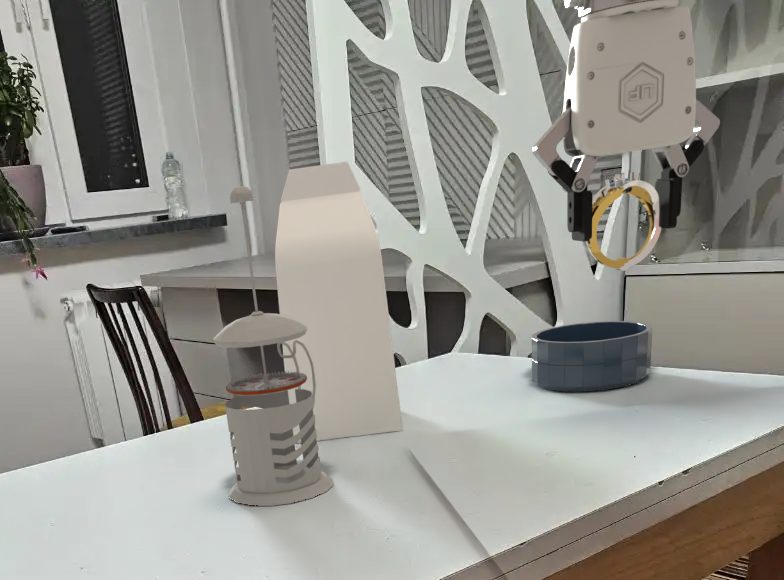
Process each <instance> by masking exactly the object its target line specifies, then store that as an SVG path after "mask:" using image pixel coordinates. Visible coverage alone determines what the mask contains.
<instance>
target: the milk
mask: <svg viewBox="0 0 784 580" xmlns="http://www.w3.org/2000/svg"><path fill="white" fill-rule="evenodd" d="M277 218H278V219H277V228H276V235H275V245H274V247H275V248H274V257H275V258H274V263H275V276H276V277H275V278H276V289H277V298H278V300H277V301H278V311H279V314H280V315H283V316H287V317H291V318H293V319H294V320H296V321H298V322H300V323H301V324H303V325H305V326H306V327H307V331H306V333H305V335H303V336H301V337H299V338H296V339H293V340H289V341H286V342H285V343H287V344H288V345H289V346H290V348H291V350H292V351H293V342H294V341H295V340H298V341H299V342H301V343H303V344H304V345H305V347H306V348H307V350H308V352H309V355H310V357H311V360H312V362H313V366H314V374H315V381H316V391H315V404H314V408H313V415H315V429H316V431H317V438H316V441H317V442H320V441H327V440H334V439H342V438H351V437H359V436H367V435H377V434H384V433H391V432H401V431H404V427H403V421H402V420H403V419H402V412H401V405H400V395H399V386H398V379H397V370H396V363H395V362H396V361H395V355H394V347H393V346H394V345H393V339H392V331H391V329H392V328H391V322H390V314H389V313H390V312H389V306H388V297H387V290H386V281H385V272H384V266H383V256H382V250H381V245H380V240H379V235H378V233H377V230H376V226H375V224H374V221H373V218H372V216H371V213H370V210H369V208H368V205H367V202H366V200H365V197H364V194H363V192H362V191H361V187H360V185H359V183H358V181H357V179H356V177H355V174H354V172H353V170H352V168H351V166H350V164H349V162H348V161H342V162H334V163H327V164H319V165H312V166H306V167H297V168H292V169H290V168H289V169H288V172H287V175H286V179H285V183H284V186H283V190H282V194H281V198H280V203H279V209H278V217H277ZM281 345H282V355H291V353H290V351H289V350H288V348H287V347H286V346H285V345H283V344H281ZM295 357H296V360H297V363H298V367H299V372H300V373H304V374H305V375H306V376H307V380H306V382H305V383H303V384H302V385H301V389H305V390H308V391H311V392H312V395H313V380H312V369H311V365H310V361H309V359H308V356H307V354H306V352H305V350H304V348H303V347H302V346H301V345H299V344H298V343H296V354H295ZM283 366H284V372H285V371H286V372H287V373H288V371H289V373H290V372H291V371H292V372H296V366H295V363H294V360H293V357H292V358H283ZM295 389H298V387H297V388H293V389H290V390H288V396H289V404H294V403H296V395H295ZM299 431H300V428H299V425H298V426H296V427H294V428H293V436H294V435H296V434H298V433H299ZM296 444H301V439H300V440H299V441H298V442H297V443H296Z"/></svg>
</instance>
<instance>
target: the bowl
mask: <svg viewBox="0 0 784 580" xmlns="http://www.w3.org/2000/svg"><path fill="white" fill-rule="evenodd" d="M652 342H653V326H652V325H651V324H648V323H645V322H640V321H632V320H631V321H627V320H604V321H601V320H600V321H589V322H579V323H571V324H564V325H559V326H554V327H549V328H545V329H543V330H538V331H536V332H535V333H533V334H532V335H531V381H532V382H534V383H535V384H537V386H538V387H540V388H541V389H545V390H550V391H554V392H565V393H567V392H569V393H570V392H571V393H575V392H577V393H578V392H579V393H580V392H581V393H583V392H597V391H607V390H614V389H613V388H615V389H619V387H620V388H624V387H627V386H626V385H628V386H630V385H629V384H632V385H634V384H633V383H635V382H637V383H639V382H641V381H642V380H643V379H644V378H645V377H646V376H648V375H649V374H650V373H651V367H652V366H651V365H652V364H651V363H652V344H653V343H652ZM643 377H644V378H643ZM641 379H642V380H641ZM640 380H641V381H640ZM638 381H639V382H638ZM635 384H636V383H635ZM623 386H624V387H623Z"/></svg>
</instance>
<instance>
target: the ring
mask: <svg viewBox="0 0 784 580" xmlns="http://www.w3.org/2000/svg"><path fill="white" fill-rule="evenodd" d="M640 175H641V173H640V172H636V173H635V171H631V172H630V173H629V177H628V178H626V177H625V176H626V175H625V172H619V173H616V174H613V176H612V182H610V179H605V180H604V184H605V186H603V187H602V188H600V190H598V191H597V193H595V195H594V197H593V198H592V238H591V239H590V240H589V241H585V244H586V246H587V250H588V252H589V254H590V255H591V257H592V258H593V259H594V260H595V261H596V262H597V263H598V264H600V265H602V266H604V267H607V268H611V269H615V270H617V271H623V272H625V271H627V270H629V268H630V267H632V266H635V265H637V264H639V263H640V262H642V261H643V260H644V259H645V258H646V257H648V255H649V254H650V253H651V252H652V250H653V249H654V247H655V245H656V244H657V242H658V241H659V237H660V234H661V233H662V232H661V231H662V229H663V228H662V218H663V214H662V207H661V202H660V199H659V196H658V194H657V192H656V190H655V186H653V185H652V184H651V183H649V182H647V181H644V180H641V179H640ZM624 194H628V195H630V196H632V197H634V198H636V200H638V201H639V202H640V203H641V204H642V205H643V206H644V208H645V209H646V212H647V214H648V220H649V228H648V234H647V237H646V240H645V242H644V244H643V245H642V247H641V248H640V249H639V250H638V251H637V252H636V253H635V254H633V255H632V256H630V257H618V258H616V260H613V259H611V258H609V257H607V256H606V255H605V254H604V253H603V252H602V251H601V249H600V247H599V244H598V237H597V235H598V234H597V231H598V227H599V226H598V225H599V223H600V220H601V218H602V216H603V215H604V213H605V211H606V210H607V209H608V208H609V206H611V204H612V203H614V202H615V201H616V200H617V199H619V198H620V197H622V196H623V195H624Z"/></svg>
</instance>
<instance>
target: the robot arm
mask: <svg viewBox="0 0 784 580" xmlns="http://www.w3.org/2000/svg"><path fill="white" fill-rule="evenodd" d="M563 1H564V2H563V3H564V7H565V8H566V9H569V8H574V10H576V9H577V11H578V18H580V22H579V23H577V24H575V25H574V26H573V30H572V35H571V40H570V45H569V51H568V58H567V65H566V66H567V67H566V74H565V84H564V94H563V95H564V96H563V97H564V98H563V108H562V109H563V112H562V113H561V115H559V117H558V118H557V119H556V120H555V121H554V122H553V123H552V124H551V126H550V127H549V128H548V129H546V131H545V132H544V133H543V135H542V136H540V138H539V139H538V140H537V141H536V142H535V144H534V145H533V146H532V149H531V152H532V154H533V156H534V157H535V158H536V159H537V160H538V162H539V163H540V164H541V165H542V167H543V168H545V170H546V171H547V173H548V174H549V176H550V177H551V178H552V179H553V180H554V181H556V183H557V184H558V185H559V186H560V187H561V188H562V191H564V192H565V193H567V194H566V195H567V196H566V197H567V198H566V199H567V201H566V203H567V205H566V208H567V209H566V210H567V212H566V215H567V217H566V218H567V219H566V221H567V222H566V223H567V224H566V225H567V231H568V233H571V239H572V241H578V242H586V241H589V240H590V239H591V238H592V200H593V198H594V197H593V191H592V190H588V183H589V181H590V179H591V176H592V174H593V172H594V169H595V167H596V165H597V163H598V161H599V158H600V156H601V157H603V156H612V155H617V154H623V153H625V154H626V153H633V152H639V151H644V150H650V151H651V153H652V154H653V157H654V159H655V161H656V164H657V166H658V168H659V170H660V178H657V179H656V181H655V182H654V183H655V184H654V188H655V190H656V192H657V194H658V196H659V199H660V202H661V207H662V214H663V218H662V228H661V229H675V228H677V225H678V224H677V223H678V217H679V216H680V215H681V212H682V211H681V210H682V195H683V194H682V193H683V177H686V175H688V173H689V171H690V168H691V167H692V165H693V164H694V163H695V161H696V160H697V159H698V158H699V156H701V154H702V153H703V151H704V149H705V146H706V145H707V144H708V143H709V142H710V140H711V139H712V137H713V136H714V134H715V133H716V132H717V130H718V129H719V128H720V124H721V121H720V118H719V117H717V116H716V114H714V113H713V112H712V111H711V110H710V109H709V108H707V107H706V106H705V105H704V104H703V103H702V101H700V100H699V99H697V79H696V76H697V75H696V74H697V73H696V53H695V42H694V41H695V40H694V33H693V32H694V31H693V23H692V19H691V12H690V11H691V10H690V6H689V5H682V6H681V5H679V0H563ZM561 141H562V145H563V150H564V153H565V154H566V155H568V156H569V157H572V160H571V162H570V163H569V164H568V163H567V161H565V160H563V158H561V157H560V154H559V153H558V151H557V147H558V145H559V143H561ZM681 143H684V144H682V145H681Z"/></svg>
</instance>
